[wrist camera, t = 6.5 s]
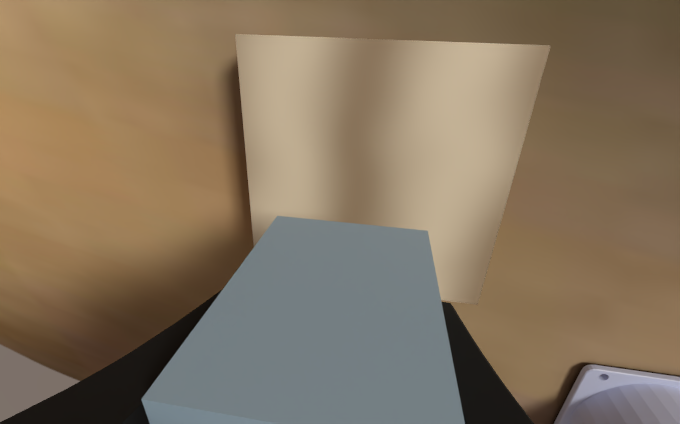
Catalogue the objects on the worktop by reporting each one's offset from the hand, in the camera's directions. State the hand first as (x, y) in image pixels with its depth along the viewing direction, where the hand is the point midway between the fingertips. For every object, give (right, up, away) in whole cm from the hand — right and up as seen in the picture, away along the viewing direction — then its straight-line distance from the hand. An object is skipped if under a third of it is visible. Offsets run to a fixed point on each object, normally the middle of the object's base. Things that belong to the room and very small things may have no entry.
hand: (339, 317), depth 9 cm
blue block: (0, +1, +2) cm, 2 cm away
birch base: (+2, +5, +7) cm, 9 cm away
